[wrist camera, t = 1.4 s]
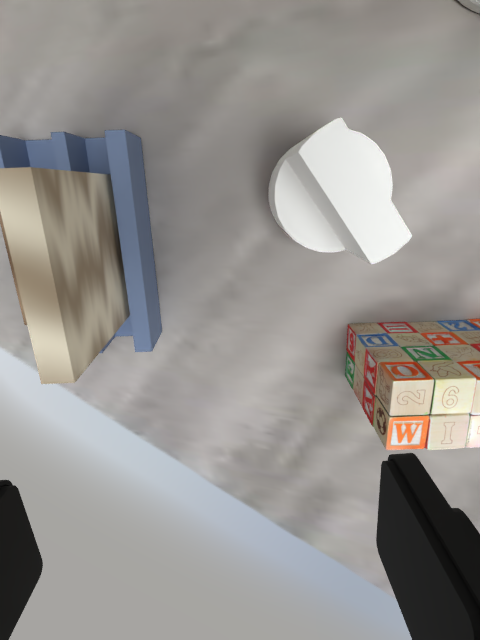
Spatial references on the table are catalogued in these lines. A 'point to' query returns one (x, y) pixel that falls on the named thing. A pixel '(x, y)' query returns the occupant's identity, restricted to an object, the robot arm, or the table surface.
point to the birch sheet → (65, 264)
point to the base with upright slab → (337, 195)
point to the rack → (130, 203)
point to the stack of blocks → (418, 381)
